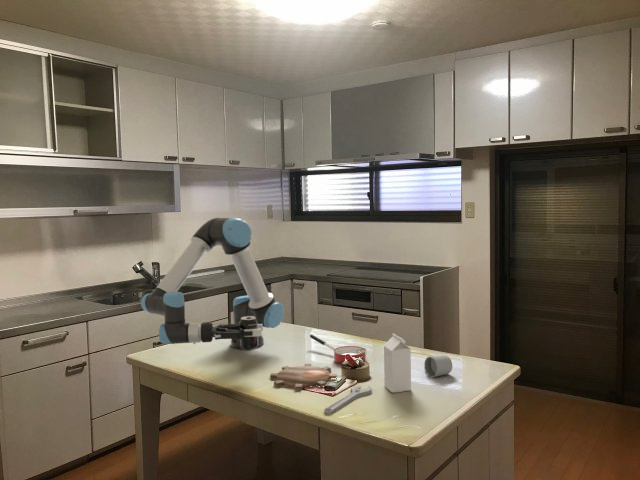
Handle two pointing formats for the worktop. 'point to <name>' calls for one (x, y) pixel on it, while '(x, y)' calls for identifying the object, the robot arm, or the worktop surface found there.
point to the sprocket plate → (302, 376)
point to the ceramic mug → (438, 365)
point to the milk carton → (397, 365)
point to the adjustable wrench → (348, 398)
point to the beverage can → (249, 342)
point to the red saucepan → (343, 351)
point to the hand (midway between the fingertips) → (261, 329)
